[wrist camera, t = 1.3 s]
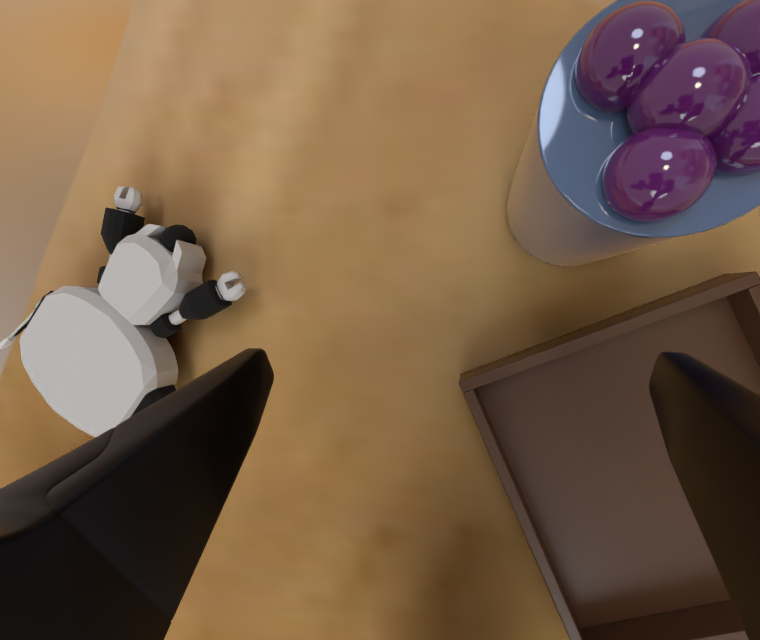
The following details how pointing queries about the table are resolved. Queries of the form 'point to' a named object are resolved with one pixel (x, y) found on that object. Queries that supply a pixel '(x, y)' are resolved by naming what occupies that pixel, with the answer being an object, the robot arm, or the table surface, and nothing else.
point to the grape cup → (642, 131)
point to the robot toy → (121, 321)
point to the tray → (616, 463)
